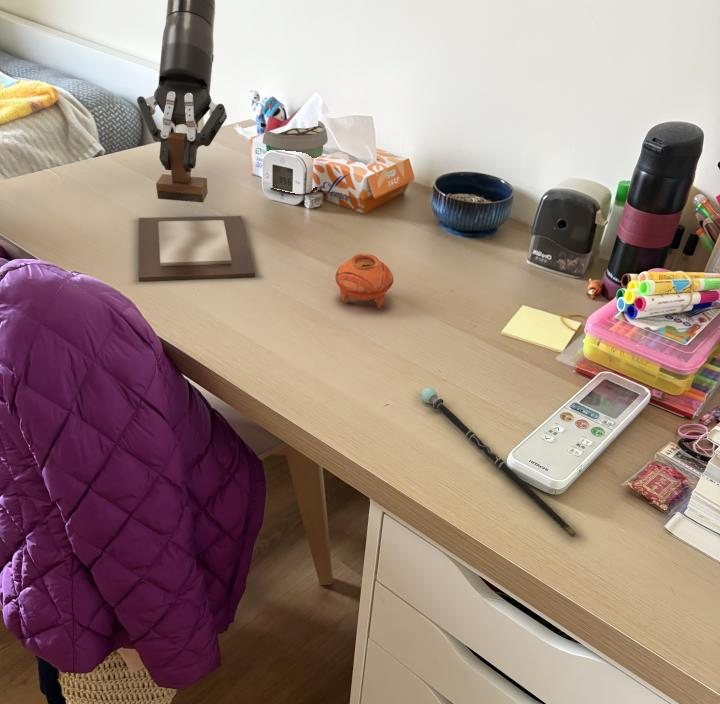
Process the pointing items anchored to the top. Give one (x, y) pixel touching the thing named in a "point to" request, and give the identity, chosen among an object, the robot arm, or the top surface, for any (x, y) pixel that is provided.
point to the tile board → (193, 248)
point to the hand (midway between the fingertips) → (177, 168)
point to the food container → (298, 143)
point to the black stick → (490, 454)
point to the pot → (364, 278)
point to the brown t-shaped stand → (180, 175)
